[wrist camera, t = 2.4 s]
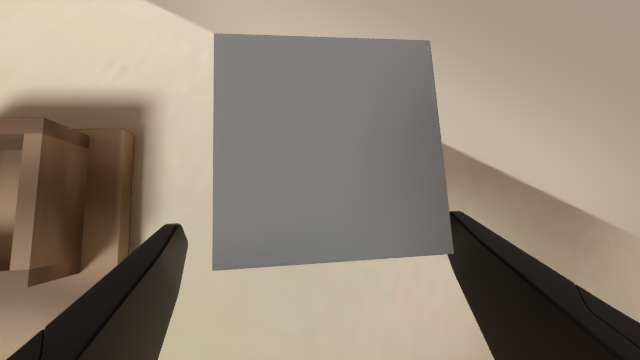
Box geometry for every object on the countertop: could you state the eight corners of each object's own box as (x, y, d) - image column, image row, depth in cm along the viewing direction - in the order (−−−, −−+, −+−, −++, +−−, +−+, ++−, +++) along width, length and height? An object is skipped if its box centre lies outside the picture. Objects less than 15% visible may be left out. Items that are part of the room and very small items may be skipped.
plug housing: (336, 226, 18) (453, 253, 5) (270, 230, 17) (212, 270, 4) (333, 162, 18) (430, 40, 6) (269, 163, 18) (214, 33, 5)
